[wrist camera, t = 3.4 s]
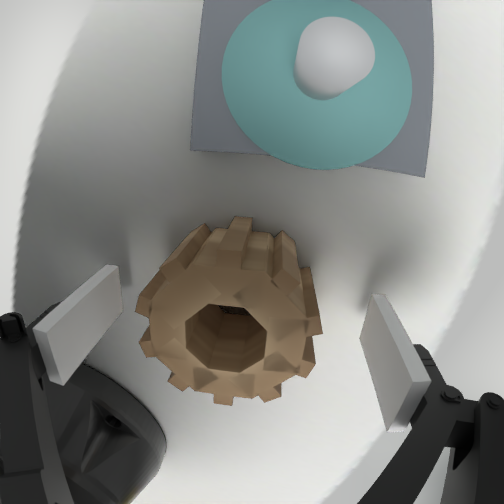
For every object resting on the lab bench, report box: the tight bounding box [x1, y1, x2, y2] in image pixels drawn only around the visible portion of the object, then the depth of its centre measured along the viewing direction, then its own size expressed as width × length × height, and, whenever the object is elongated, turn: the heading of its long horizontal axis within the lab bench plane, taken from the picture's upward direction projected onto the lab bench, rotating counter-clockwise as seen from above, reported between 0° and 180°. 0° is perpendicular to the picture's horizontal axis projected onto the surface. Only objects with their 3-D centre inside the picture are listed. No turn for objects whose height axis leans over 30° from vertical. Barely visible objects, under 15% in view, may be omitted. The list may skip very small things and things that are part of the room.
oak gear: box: [135, 216, 323, 406], centre depth 15 cm, size 8×8×5 cm
